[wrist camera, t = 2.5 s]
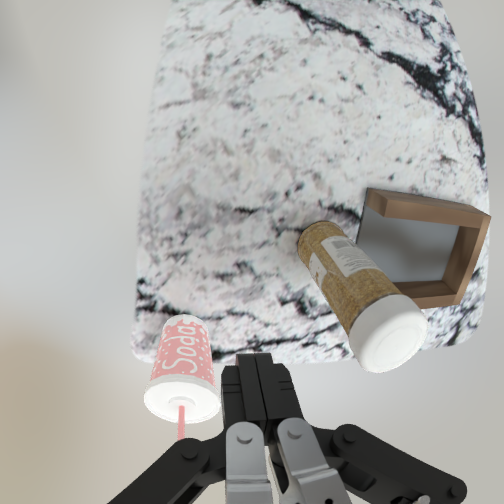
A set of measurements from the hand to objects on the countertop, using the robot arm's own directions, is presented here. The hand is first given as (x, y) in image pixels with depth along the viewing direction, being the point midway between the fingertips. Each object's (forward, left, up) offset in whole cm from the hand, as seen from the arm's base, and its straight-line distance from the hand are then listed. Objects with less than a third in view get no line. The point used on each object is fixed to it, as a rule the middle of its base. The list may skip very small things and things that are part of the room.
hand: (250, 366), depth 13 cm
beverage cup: (+10, -4, -14) cm, 17 cm away
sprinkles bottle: (0, +8, -14) cm, 16 cm away
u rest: (0, +19, -14) cm, 23 cm away
